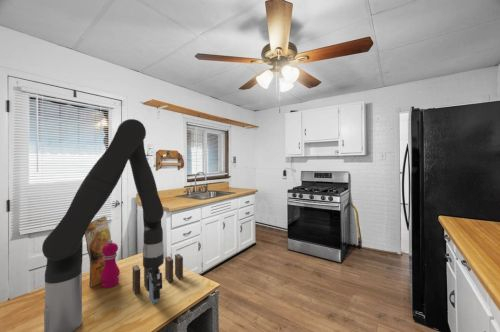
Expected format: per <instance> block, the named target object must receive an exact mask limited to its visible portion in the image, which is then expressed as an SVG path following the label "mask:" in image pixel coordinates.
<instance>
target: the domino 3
mask: <svg viewBox="0 0 500 332" xmlns="http://www.w3.org/2000/svg"><path fill="white" fill-rule="evenodd" d="M152 279H153V278H152ZM153 281H154V279H153ZM157 286H158V284H157ZM148 295H149V296H148V299H149V300H150V303H151V304H152V305H154V304H157V303H158V302H159V298H158V299H156V300H154V298H153V285H152V284H151V280H150V277H149V290H148Z"/></svg>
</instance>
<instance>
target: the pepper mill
mask: <svg viewBox="0 0 500 332" xmlns="http://www.w3.org/2000/svg"><path fill="white" fill-rule="evenodd" d="M118 250H119V245H118V244H117V243H116V242H114V241H113V239H111V240H109V241H108V244H106V245H105V246H104V247H103V249H102V253H103V254H104V259H105V266H104V268H103V270H102V273H101V280H103V281H102V282H101V287H102V288H105V289H109V288H113V287H115V286H116V285H117V286H118V284H119V282H120V281H119V276H120V273H121V272H120V268H119V266H118V265H117V262H116V261H117V260H116V257H117V256H118V255H117V252H118Z"/></svg>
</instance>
